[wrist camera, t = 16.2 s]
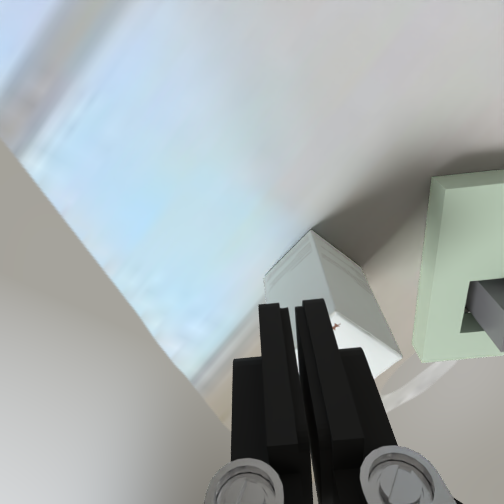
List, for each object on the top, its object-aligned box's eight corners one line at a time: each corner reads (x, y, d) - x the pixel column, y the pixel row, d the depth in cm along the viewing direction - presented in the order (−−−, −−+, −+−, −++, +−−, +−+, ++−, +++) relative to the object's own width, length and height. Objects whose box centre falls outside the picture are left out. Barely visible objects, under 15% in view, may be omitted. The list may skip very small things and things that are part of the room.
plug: (469, 271, 43) (507, 314, 37) (504, 266, 42) (548, 308, 36) (465, 306, 45) (500, 352, 39) (498, 301, 45) (539, 346, 39)
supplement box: (260, 277, 42) (267, 370, 31) (311, 226, 40) (338, 309, 29) (312, 313, 45) (336, 410, 34) (363, 268, 42) (407, 358, 31)
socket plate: (431, 177, 37) (445, 189, 35) (590, 159, 37) (617, 170, 34) (411, 343, 47) (421, 363, 45) (536, 331, 47) (554, 350, 44)
